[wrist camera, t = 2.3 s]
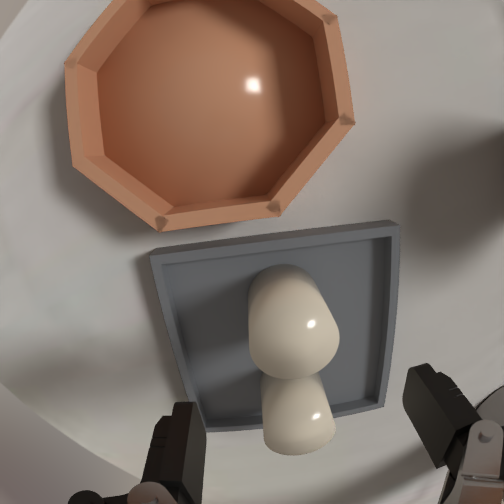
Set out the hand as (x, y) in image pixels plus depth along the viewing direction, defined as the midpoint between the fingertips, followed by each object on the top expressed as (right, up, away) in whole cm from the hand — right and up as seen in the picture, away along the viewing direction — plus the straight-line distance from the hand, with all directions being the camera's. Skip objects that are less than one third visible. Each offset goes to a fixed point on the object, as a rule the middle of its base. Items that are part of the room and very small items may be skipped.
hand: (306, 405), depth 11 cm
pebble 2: (+1, -4, +12) cm, 12 cm away
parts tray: (0, 0, +11) cm, 11 cm away
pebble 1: (0, +3, +9) cm, 10 cm away
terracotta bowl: (-5, +15, +6) cm, 17 cm away
